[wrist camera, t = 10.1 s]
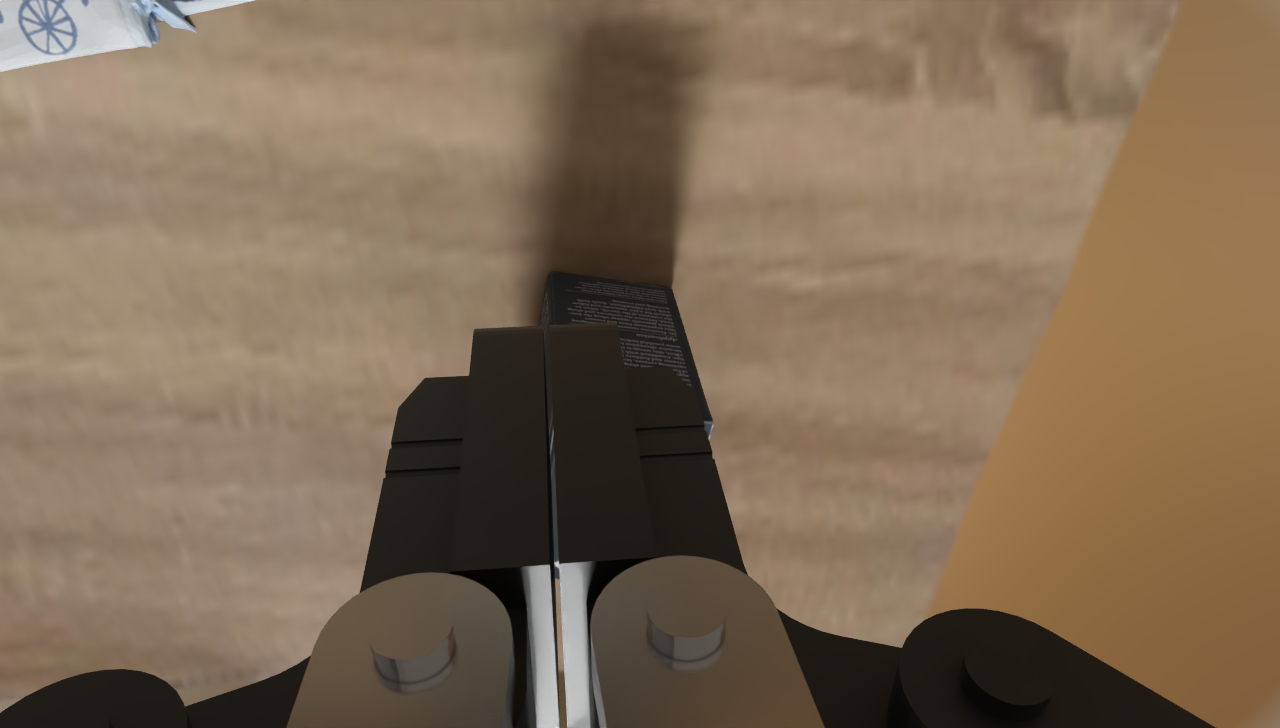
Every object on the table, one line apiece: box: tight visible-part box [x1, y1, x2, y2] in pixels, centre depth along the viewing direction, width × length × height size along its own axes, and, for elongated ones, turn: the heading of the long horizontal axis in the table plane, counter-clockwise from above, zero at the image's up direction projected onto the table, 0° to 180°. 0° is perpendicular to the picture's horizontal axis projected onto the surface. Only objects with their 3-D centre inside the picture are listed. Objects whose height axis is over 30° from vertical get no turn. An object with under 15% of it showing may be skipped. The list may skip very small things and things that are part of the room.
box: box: [539, 272, 714, 579], centre depth 37 cm, size 8×6×11 cm
